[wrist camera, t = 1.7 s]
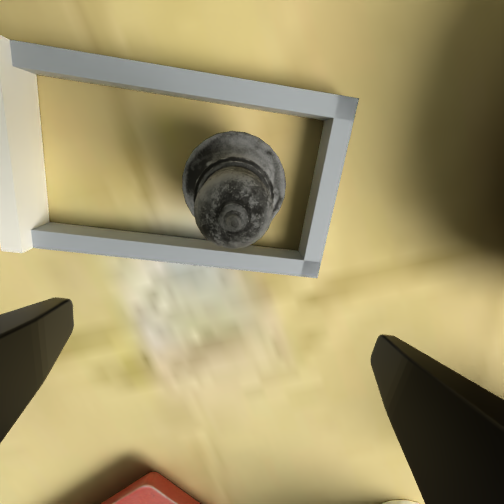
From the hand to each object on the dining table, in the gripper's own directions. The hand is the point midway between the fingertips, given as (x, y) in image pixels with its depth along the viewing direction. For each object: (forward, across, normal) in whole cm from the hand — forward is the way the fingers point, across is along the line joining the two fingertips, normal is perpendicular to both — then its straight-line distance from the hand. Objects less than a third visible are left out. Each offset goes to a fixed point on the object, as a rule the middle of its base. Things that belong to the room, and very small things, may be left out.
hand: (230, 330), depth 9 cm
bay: (+13, +4, -3) cm, 14 cm away
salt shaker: (+14, 0, -3) cm, 14 cm away
